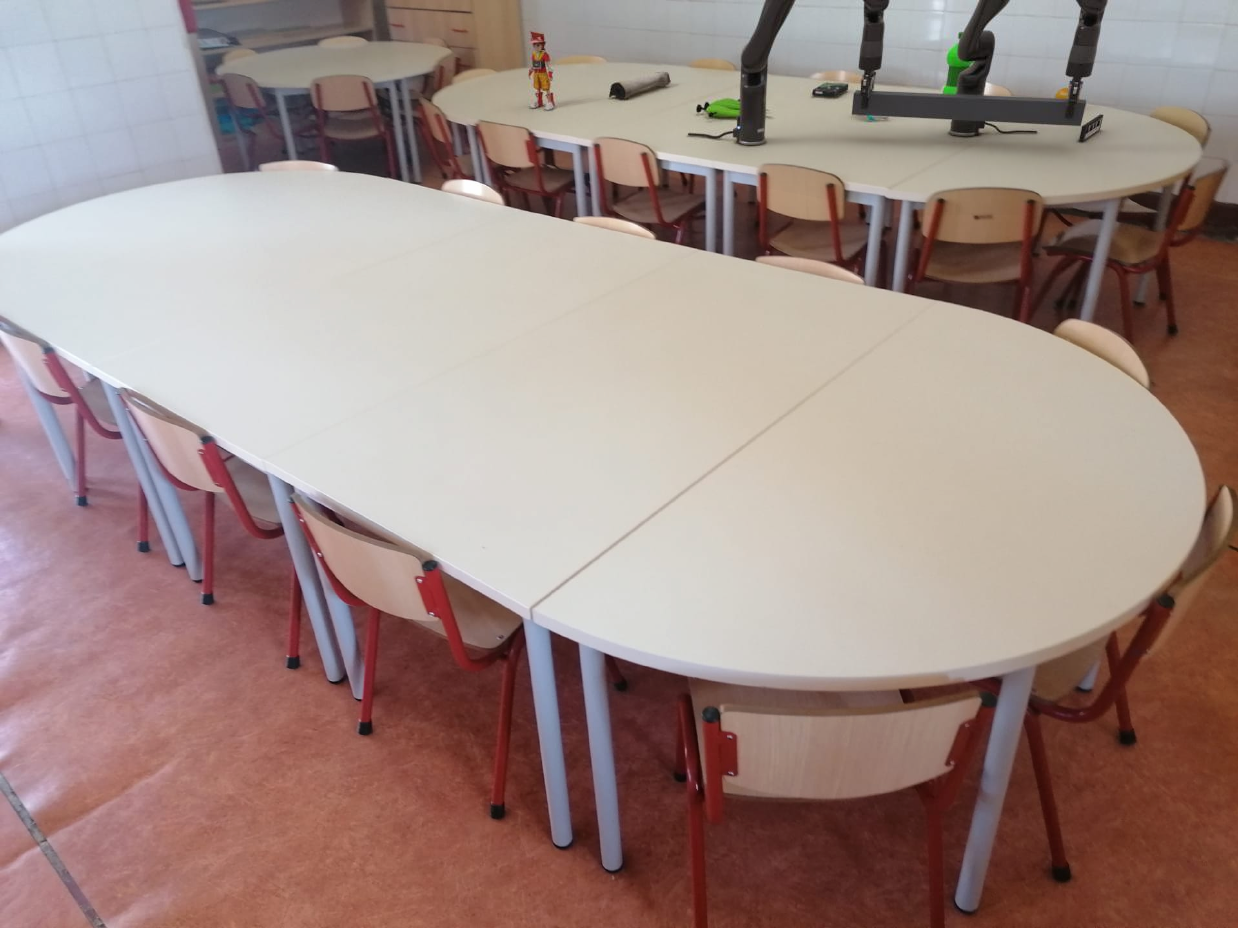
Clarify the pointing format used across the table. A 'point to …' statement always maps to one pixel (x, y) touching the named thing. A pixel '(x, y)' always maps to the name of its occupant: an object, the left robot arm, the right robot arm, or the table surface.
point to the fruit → (1062, 94)
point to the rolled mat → (638, 84)
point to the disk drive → (830, 90)
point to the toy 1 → (541, 71)
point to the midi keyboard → (1091, 127)
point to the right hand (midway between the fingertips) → (1068, 115)
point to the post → (969, 107)
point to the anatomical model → (876, 117)
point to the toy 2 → (722, 108)
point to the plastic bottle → (954, 69)
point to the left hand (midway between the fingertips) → (865, 106)
